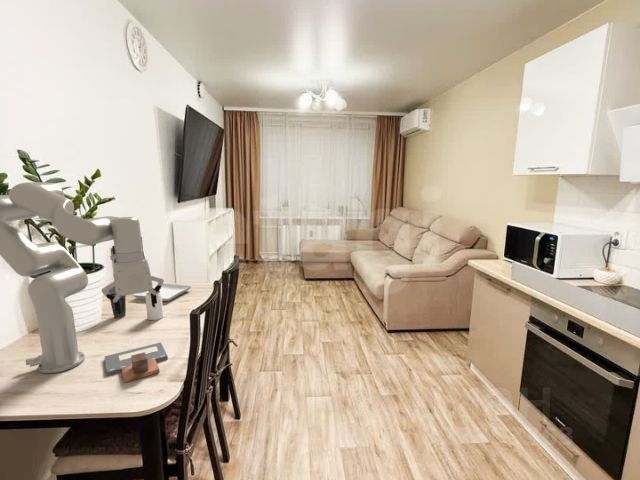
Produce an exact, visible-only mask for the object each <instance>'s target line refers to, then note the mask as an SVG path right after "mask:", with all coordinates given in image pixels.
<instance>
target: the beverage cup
mask: <svg viewBox="0 0 640 480" xmlns="http://www.w3.org/2000/svg"><path fill="white" fill-rule="evenodd" d="M112 275H113V277H114V272H113V274H112ZM108 292H109V293H110V294H112V295H115V294H116V291H115V287H113V288H112V289H110V290H109V291H108ZM126 296H127V295H125V296H121V297H120V298H119V299H118V300H119V301H120V308H121V314H119V313H118V311H115V304H114V302H113V301H112V300H110V299H109V301H110V305H111V310H112V315H113V317H114V319H122V318H124V317H126V315H127V314H126V312H127V311H126V310H127V309H126V306H127V305H126V304H127V303H126V302H127V301H126V299H127V298H126Z"/></svg>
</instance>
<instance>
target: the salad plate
mask: <svg viewBox="0 0 640 480" xmlns="http://www.w3.org/2000/svg"><path fill="white" fill-rule="evenodd" d="M157 285H158V283H156V284H155V285H152V288H155V287H156V286H157ZM190 289H192V285H184V284H174V283H164V282H163V284H162V287H161V289H160V290H159V291H160V293H161V295H162V302H169V301H171V300H173V299H175V298H176V297H179V296H180V295H182V294H184V293H186V292H188V291H189V290H190ZM147 292H149V291H147ZM147 292H142V293H137V294H132V296H133V297H134V298H136V299H140V300H142V299H143V300H145V301H146V293H147Z"/></svg>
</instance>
